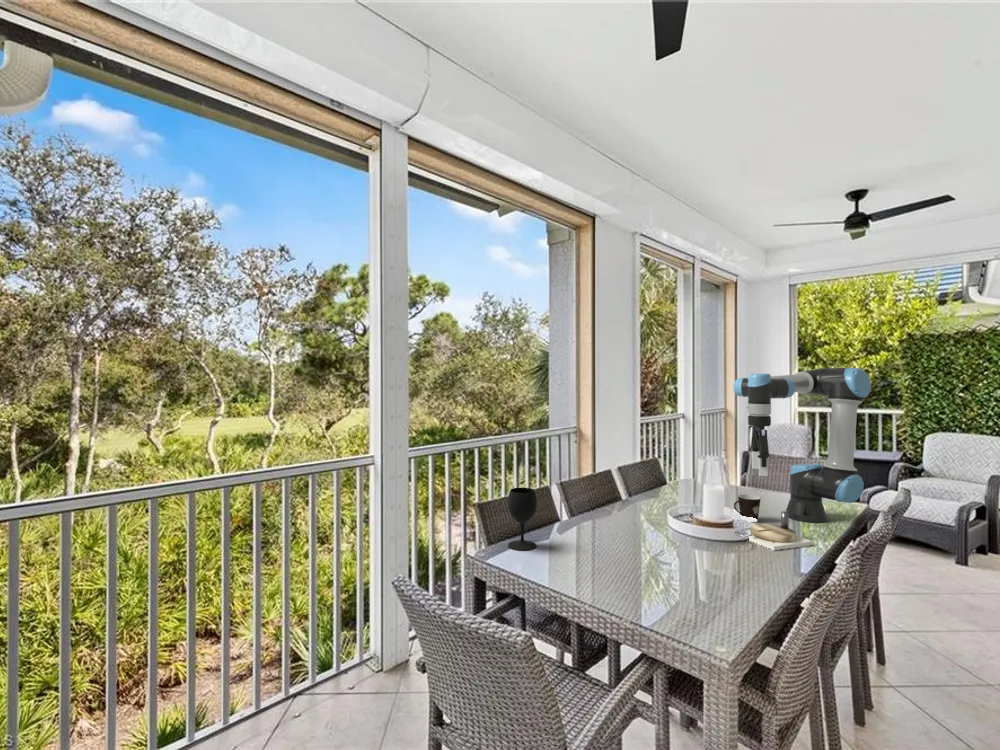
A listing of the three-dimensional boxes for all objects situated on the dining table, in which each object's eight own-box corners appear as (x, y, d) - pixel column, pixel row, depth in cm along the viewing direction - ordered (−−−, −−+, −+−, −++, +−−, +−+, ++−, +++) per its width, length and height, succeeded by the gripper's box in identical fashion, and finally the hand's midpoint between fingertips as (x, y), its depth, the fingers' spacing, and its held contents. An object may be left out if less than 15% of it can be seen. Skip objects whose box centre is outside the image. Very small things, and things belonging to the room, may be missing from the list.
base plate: (771, 530, 197) (771, 526, 197) (812, 545, 180) (812, 540, 180) (734, 535, 192) (734, 530, 192) (774, 550, 175) (774, 545, 175)
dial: (771, 527, 196) (771, 506, 196) (805, 539, 181) (805, 517, 181) (740, 530, 191) (740, 510, 191) (773, 543, 177) (773, 521, 177)
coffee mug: (755, 517, 215) (755, 494, 215) (764, 523, 206) (764, 499, 206) (727, 517, 216) (727, 494, 216) (734, 523, 207) (734, 499, 207)
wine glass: (542, 545, 179) (542, 490, 179) (523, 553, 172) (524, 495, 172) (520, 539, 186) (520, 485, 186) (501, 546, 179) (501, 490, 179)
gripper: (742, 412, 198) (742, 465, 199) (754, 417, 175) (754, 478, 175) (763, 412, 196) (763, 466, 196) (778, 418, 172) (778, 479, 172)
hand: (759, 472), depth 185 cm, fingers open, 13 cm apart
